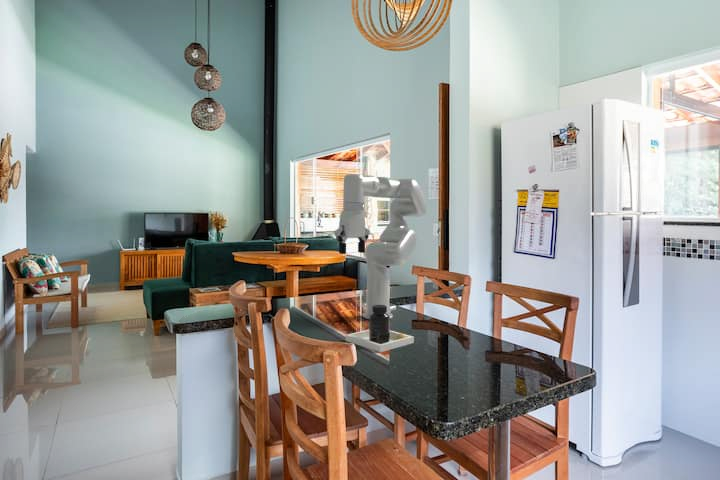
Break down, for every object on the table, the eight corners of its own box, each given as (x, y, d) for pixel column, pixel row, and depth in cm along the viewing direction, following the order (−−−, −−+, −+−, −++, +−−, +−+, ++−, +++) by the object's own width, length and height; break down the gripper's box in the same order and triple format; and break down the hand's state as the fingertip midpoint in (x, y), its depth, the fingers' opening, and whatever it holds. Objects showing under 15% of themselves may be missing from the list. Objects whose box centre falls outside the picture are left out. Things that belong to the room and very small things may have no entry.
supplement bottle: (377, 337, 155) (378, 303, 154) (393, 341, 151) (394, 306, 150) (364, 341, 150) (365, 305, 149) (381, 346, 146) (382, 309, 145)
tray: (378, 335, 162) (379, 327, 162) (413, 345, 150) (414, 336, 150) (345, 343, 151) (345, 334, 151) (380, 355, 139) (380, 345, 139)
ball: (400, 340, 152) (400, 331, 152) (407, 342, 150) (407, 333, 150) (394, 342, 150) (394, 333, 150) (401, 344, 148) (401, 335, 148)
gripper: (362, 208, 178) (361, 251, 179) (329, 206, 166) (328, 253, 168) (376, 208, 173) (375, 252, 174) (342, 207, 161) (341, 255, 162)
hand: (352, 253), depth 171 cm, fingers open, 9 cm apart
